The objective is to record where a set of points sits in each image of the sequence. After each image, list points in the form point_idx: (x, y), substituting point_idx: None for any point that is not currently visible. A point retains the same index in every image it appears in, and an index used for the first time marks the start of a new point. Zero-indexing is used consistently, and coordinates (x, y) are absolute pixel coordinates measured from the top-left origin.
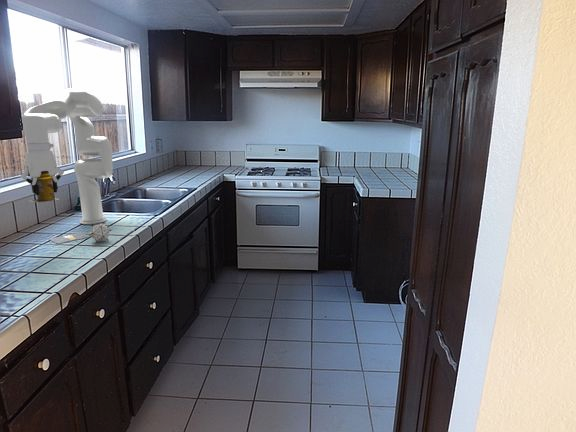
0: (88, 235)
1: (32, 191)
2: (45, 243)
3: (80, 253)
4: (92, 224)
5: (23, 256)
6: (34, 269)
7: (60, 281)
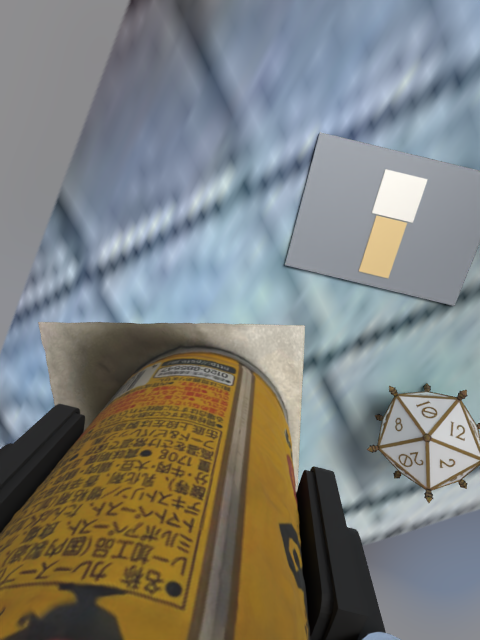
0: (463, 279)
1: (3, 448)
2: (265, 189)
3: None
4: (428, 440)
5: (99, 296)
6: None
7: None
